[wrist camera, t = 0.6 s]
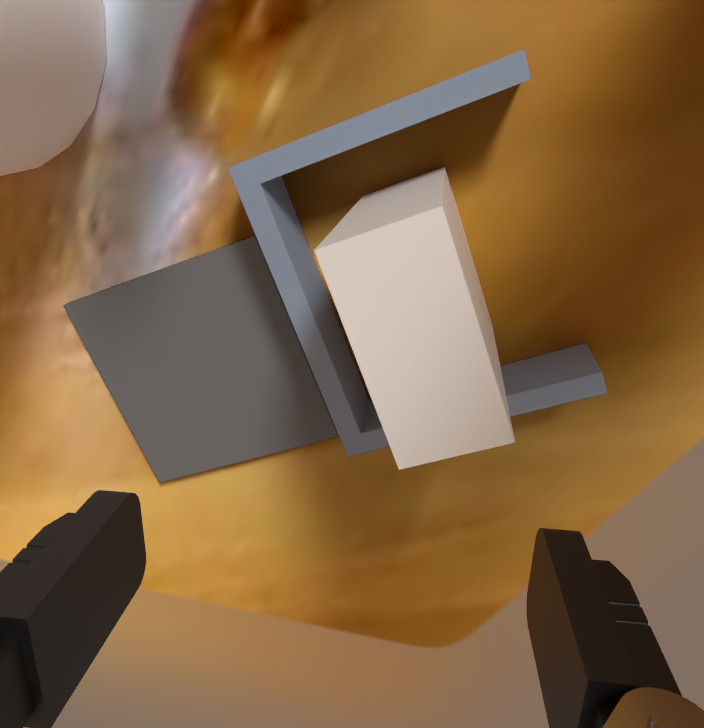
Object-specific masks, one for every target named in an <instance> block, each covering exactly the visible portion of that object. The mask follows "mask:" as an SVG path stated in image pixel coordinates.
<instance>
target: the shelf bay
mask: <svg viewBox="0 0 704 728" xmlns="http://www.w3.org/2000/svg"><path fill="white" fill-rule="evenodd" d="M530 79H531V75H530V71H529V67H528V63H527V59H526V55H525V51H524V49H523V50H521V51H518V52H516V53H513V54H511V55H508V56H506V57H503V58H501V59H498V60H496V61H493V62H491V63H488V64H486V65H483V66H481V67H478V68H476V69H473V70H471V71H468V72H466V73H463V74H461V75H458V76H456V77H453V78H451V79H448V80H446V81H443V82H441V83H438V84H436V85H433V86H431V87H428V88H426V89H423V90H421V91H418V92H416V93H413V94H411V95H408V96H406V97H403V98H401V99H398V100H396V101H393V102H391V103H388V104H386V105H383V106H381V107H378V108H376V109H373V110H371V111H368V112H366V113H363V114H361V115H358V116H356V117H353V118H351V119H348V120H346V121H343V122H341V123H338V124H336V125H333V126H331V127H328V128H326V129H323V130H321V131H318V132H316V133H313V134H311V135H308V136H306V137H303V138H301V139H298V140H296V141H293V142H291V143H288V144H286V145H283V146H281V147H278V148H276V149H273V150H271V151H268V152H266V153H263V154H261V155H258V156H256V157H253V158H251V159H248V160H246V161H243V162H241V163H238V164H236V165H233V166H231V167H228V170H229V172H230V175H231V177H232V179H233V182H234V184H235V187H236V189H237V192H238V194H239V196H240V199H241V201H242V204H243V206H244V208H245V211H246V213H247V216H248V218H249V220H250V223H251V225H252V228H253V230H254V232H255V235H256V237H257V240H258V242H259V244H260V247H261V249H262V252H263V254H264V256H265V259H266V261H267V264H268V266H269V268H270V271H271V273H272V276H273V278H274V280H275V283H276V285H277V288H278V290H279V293H280V295H281V297H282V300H283V302H284V305H285V307H286V309H287V312H288V314H289V317H290V319H291V321H292V324H293V326H294V329H295V331H296V333H297V336H298V338H299V341H300V343H301V345H302V348H303V350H304V353H305V355H306V357H307V360H308V362H309V365H310V367H311V369H312V372H313V374H314V377H315V379H316V381H317V384H318V386H319V389H320V391H321V394H322V396H323V398H324V401H325V403H326V406H327V408H328V410H329V413H330V415H331V418H332V420H333V422H334V425H335V427H336V430H337V432H338V434H339V437H340V439H341V442H342V444H343V446H344V449H345V451H346V454H347V456H348V457H349V456H353V455H358V454H362V453H366V452H370V451H374V450H378V449H382V448H386V447H390V445H389V443H388V440H387V438H386V435H385V432H384V430H383V427H382V425H381V422H380V419H379V417H378V414H377V412H376V409H375V407H374V404H373V401H369V399H368V397H367V394H366V392H365V389H364V387H363V384H362V381H361V379H360V376H359V374H358V371H357V369H356V366H355V363H354V361H353V358H352V356H351V353H350V351H349V348H348V345H347V343H346V340H345V338H344V335H343V333H342V330H341V327H340V325H339V322H338V320H337V317H336V315H335V312H334V309H333V307H332V304H331V302H330V299H329V297H328V294H327V291H326V289H325V286H324V284H323V281H322V279H321V276H320V273H319V271H318V268H317V266H316V263H315V261H314V258H313V255H312V253H311V250H310V248H309V245H308V243H307V240H306V237H305V235H304V232H303V230H302V227H301V225H300V222H299V219H298V217H297V214H296V212H295V209H294V207H293V204H292V201H291V199H290V196H289V194H288V191H287V189H286V186H285V183H284V181H283V178H282V175H284V174H287V173H289V172H292V171H295V170H297V169H300V168H302V167H305V166H308V165H310V164H313V163H315V162H318V161H320V160H323V159H326V158H328V157H331V156H333V155H336V154H339V153H341V152H344V151H346V150H349V149H352V148H354V147H357V146H359V145H362V144H365V143H367V142H370V141H372V140H375V139H378V138H380V137H383V136H385V135H388V134H390V133H393V132H396V131H398V130H401V129H403V128H406V127H409V126H411V125H414V124H416V123H419V122H422V121H424V120H427V119H429V118H432V117H435V116H437V115H440V114H442V113H445V112H447V111H450V110H453V109H455V108H458V107H460V106H463V105H466V104H468V103H471V102H473V101H476V100H479V99H481V98H484V97H486V96H489V95H492V94H494V93H497V92H499V91H502V90H504V89H507V88H510V87H512V86H515V85H517V84H520V83H523V82H525V81H528V80H530ZM500 367H501V372H502V377H503V382H504V388H505V393H506V398H507V403H508V408H509V413H510V417H512V416H516V415H520V414H524V413H528V412H532V411H536V410H540V409H544V408H548V407H552V406H556V405H561V404H565V403H569V402H573V401H577V400H581V399H585V398H589V397H593V396H597V395H601V394H605V393H607V389H606V384H605V380H604V376H603V372H602V370H601V368H600V367H599V365H598V363H597V361H596V360H595V358H594V356H593V354H592V353H591V351H590V349H589V347H588V346H587V344H586V343H583V344H580V345H576V346H572V347H569V348H565V349H561V350H557V351H554V352H550V353H546V354H543V355H539V356H535V357H531V358H528V359H524V360H520V361H517V362H513V363H509V364H505V365H502V366H500Z"/></svg>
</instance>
